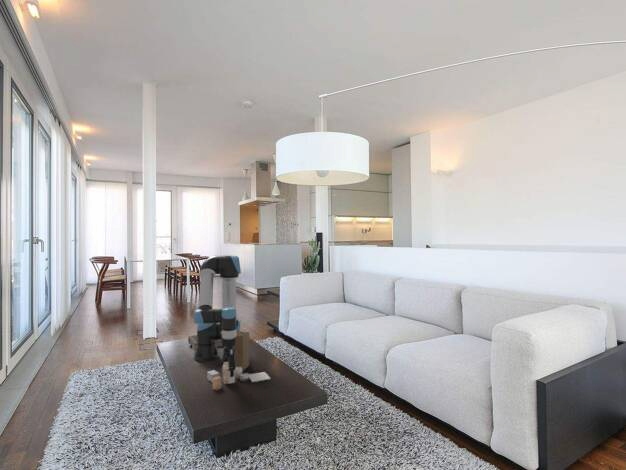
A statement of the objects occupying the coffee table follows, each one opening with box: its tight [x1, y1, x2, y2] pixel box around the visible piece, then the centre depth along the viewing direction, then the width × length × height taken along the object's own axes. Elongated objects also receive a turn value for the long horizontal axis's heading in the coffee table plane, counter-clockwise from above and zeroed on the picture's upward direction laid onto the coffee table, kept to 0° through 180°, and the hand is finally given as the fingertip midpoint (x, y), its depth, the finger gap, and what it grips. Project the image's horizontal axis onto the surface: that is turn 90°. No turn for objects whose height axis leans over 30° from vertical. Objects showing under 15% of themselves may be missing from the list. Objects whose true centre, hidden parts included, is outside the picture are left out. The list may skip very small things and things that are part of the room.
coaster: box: [249, 371, 271, 383], centre depth 196 cm, size 10×10×1 cm
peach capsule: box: [212, 375, 223, 391], centre depth 182 cm, size 4×4×5 cm
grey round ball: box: [238, 372, 250, 383], centre depth 192 cm, size 5×5×3 cm
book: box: [187, 334, 223, 351], centre depth 261 cm, size 30×22×5 cm
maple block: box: [221, 364, 236, 385], centre depth 190 cm, size 6×6×8 cm
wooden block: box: [227, 331, 250, 372], centre depth 210 cm, size 10×10×20 cm
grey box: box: [206, 369, 220, 383], centre depth 193 cm, size 6×4×4 cm, turn 40°
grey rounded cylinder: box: [235, 367, 243, 380], centre depth 196 cm, size 4×4×5 cm
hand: (228, 378), depth 190 cm, fingers open, 13 cm apart
